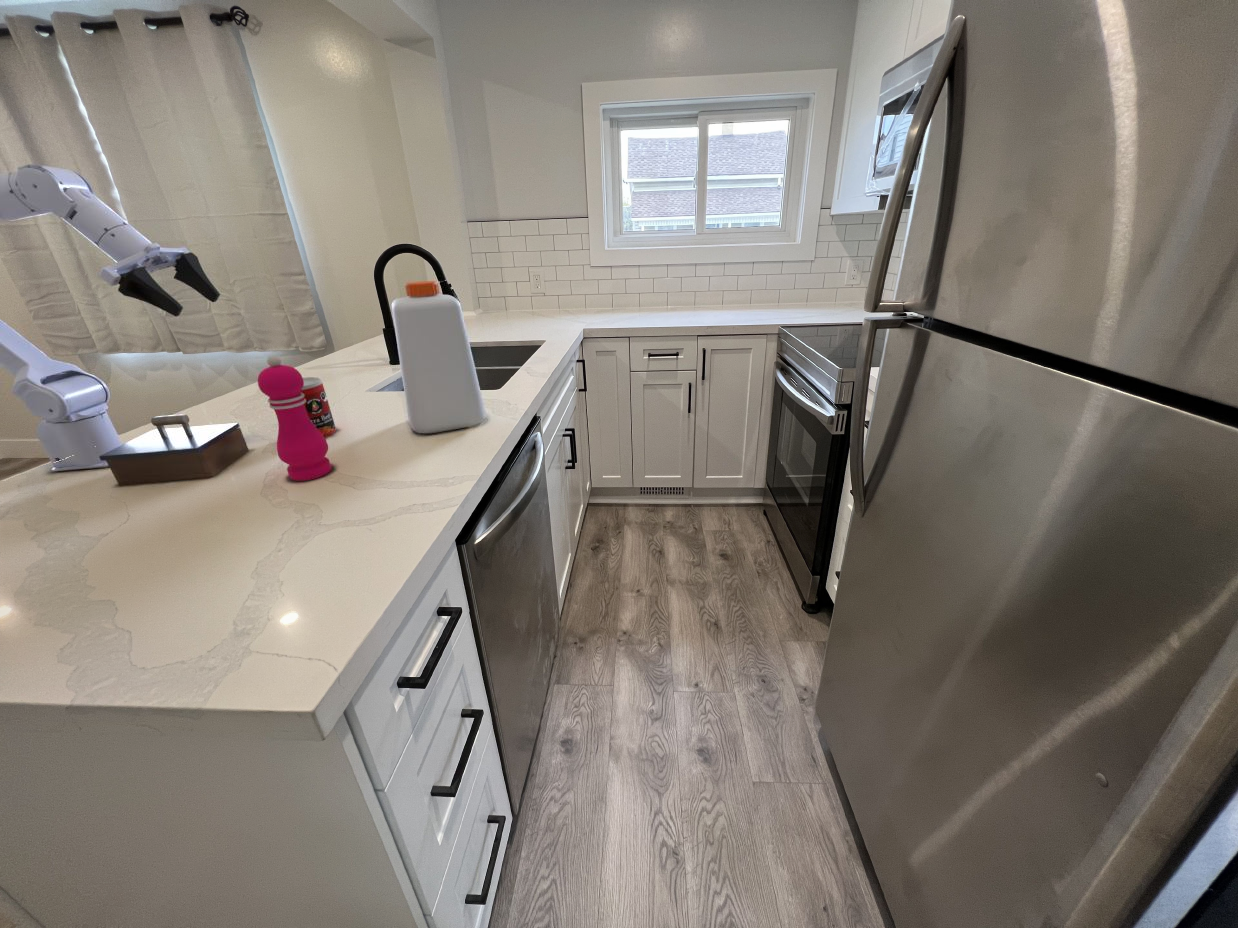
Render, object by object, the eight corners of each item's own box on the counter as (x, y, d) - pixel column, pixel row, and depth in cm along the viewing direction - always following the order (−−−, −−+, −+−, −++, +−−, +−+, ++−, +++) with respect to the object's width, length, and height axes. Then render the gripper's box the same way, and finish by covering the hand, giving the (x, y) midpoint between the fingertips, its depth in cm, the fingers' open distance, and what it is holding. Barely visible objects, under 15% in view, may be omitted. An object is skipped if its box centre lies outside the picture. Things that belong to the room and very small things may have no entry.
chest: (212, 476, 85) (201, 451, 83) (118, 485, 83) (105, 459, 81) (249, 450, 95) (240, 427, 93) (165, 457, 93) (154, 433, 91)
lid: (198, 452, 82) (187, 426, 80) (100, 460, 80) (87, 434, 78) (240, 426, 93) (231, 403, 91) (154, 433, 91) (143, 409, 89)
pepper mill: (313, 483, 81) (272, 361, 72) (276, 481, 82) (231, 361, 74) (344, 465, 87) (310, 350, 79) (309, 463, 88) (271, 350, 80)
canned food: (304, 444, 97) (286, 390, 92) (287, 436, 101) (269, 384, 97) (344, 432, 102) (328, 380, 98) (326, 425, 107) (310, 375, 102)
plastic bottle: (408, 416, 110) (377, 282, 98) (477, 405, 115) (456, 277, 104) (413, 438, 97) (379, 288, 86) (490, 425, 103) (468, 281, 91)
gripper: (75, 228, 71) (169, 303, 76) (164, 212, 83) (240, 278, 87) (64, 261, 74) (154, 331, 79) (151, 242, 86) (225, 303, 91)
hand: (198, 305), depth 83 cm, fingers open, 7 cm apart
